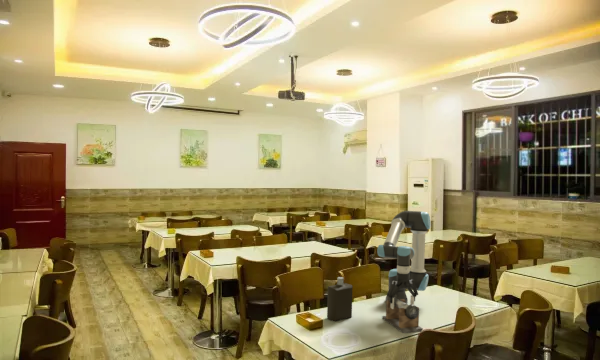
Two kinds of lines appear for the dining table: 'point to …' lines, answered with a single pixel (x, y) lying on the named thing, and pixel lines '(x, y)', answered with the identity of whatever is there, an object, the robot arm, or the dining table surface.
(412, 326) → the rack
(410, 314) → the dumbbell
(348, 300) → the bottle
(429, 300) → the dining table surface
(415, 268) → the robot arm
